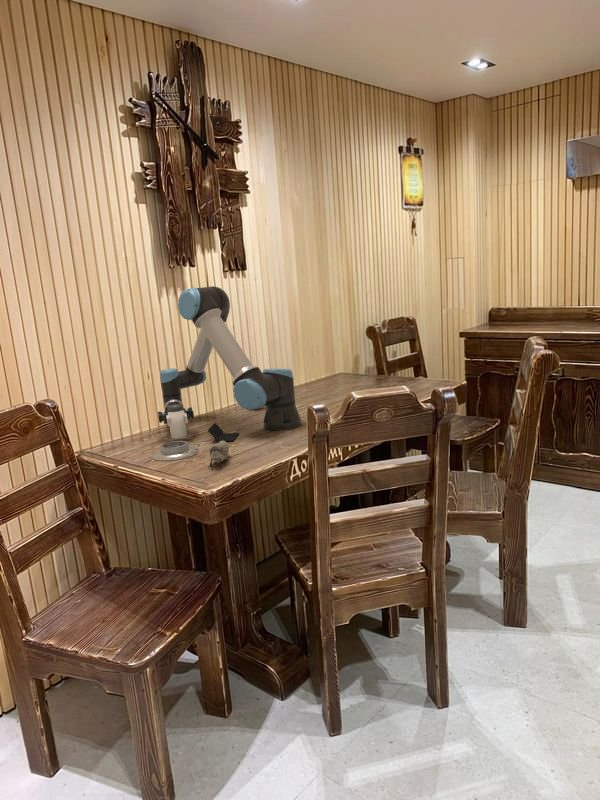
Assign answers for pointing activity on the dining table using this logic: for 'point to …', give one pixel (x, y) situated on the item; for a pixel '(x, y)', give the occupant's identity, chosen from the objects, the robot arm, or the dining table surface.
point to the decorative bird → (219, 453)
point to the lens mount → (174, 451)
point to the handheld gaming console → (222, 434)
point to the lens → (177, 420)
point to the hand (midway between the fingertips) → (177, 420)
